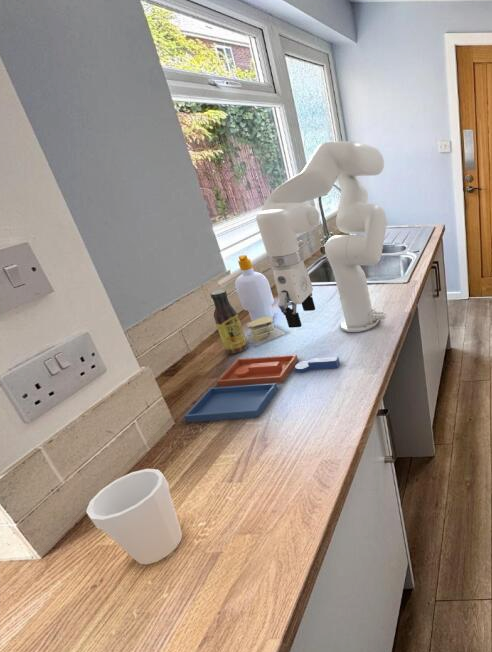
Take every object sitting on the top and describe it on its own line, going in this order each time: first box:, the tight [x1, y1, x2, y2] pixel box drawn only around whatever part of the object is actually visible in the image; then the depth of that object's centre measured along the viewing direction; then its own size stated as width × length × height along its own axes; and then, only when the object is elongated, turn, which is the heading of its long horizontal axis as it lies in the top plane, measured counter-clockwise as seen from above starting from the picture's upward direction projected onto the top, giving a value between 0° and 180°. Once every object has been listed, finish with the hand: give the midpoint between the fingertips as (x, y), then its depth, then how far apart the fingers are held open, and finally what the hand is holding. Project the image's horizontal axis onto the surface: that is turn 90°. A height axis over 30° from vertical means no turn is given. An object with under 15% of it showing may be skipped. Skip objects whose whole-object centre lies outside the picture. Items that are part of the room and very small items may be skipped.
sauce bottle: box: [209, 289, 248, 355], centre depth 125 cm, size 7×6×20 cm
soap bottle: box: [234, 254, 275, 322], centre depth 143 cm, size 10×10×24 cm
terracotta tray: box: [216, 354, 299, 387], centre depth 115 cm, size 17×11×2 cm, turn 93°
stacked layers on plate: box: [245, 317, 286, 347], centre depth 135 cm, size 10×9×6 cm
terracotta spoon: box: [235, 362, 282, 378], centre depth 115 cm, size 12×4×2 cm, turn 93°
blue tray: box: [183, 383, 279, 424], centre depth 103 cm, size 17×11×2 cm, turn 93°
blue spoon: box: [294, 356, 341, 373], centre depth 117 cm, size 12×4×2 cm, turn 93°
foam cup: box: [85, 468, 183, 565], centre depth 66 cm, size 10×9×13 cm
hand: (302, 318), depth 110 cm, fingers open, 9 cm apart
